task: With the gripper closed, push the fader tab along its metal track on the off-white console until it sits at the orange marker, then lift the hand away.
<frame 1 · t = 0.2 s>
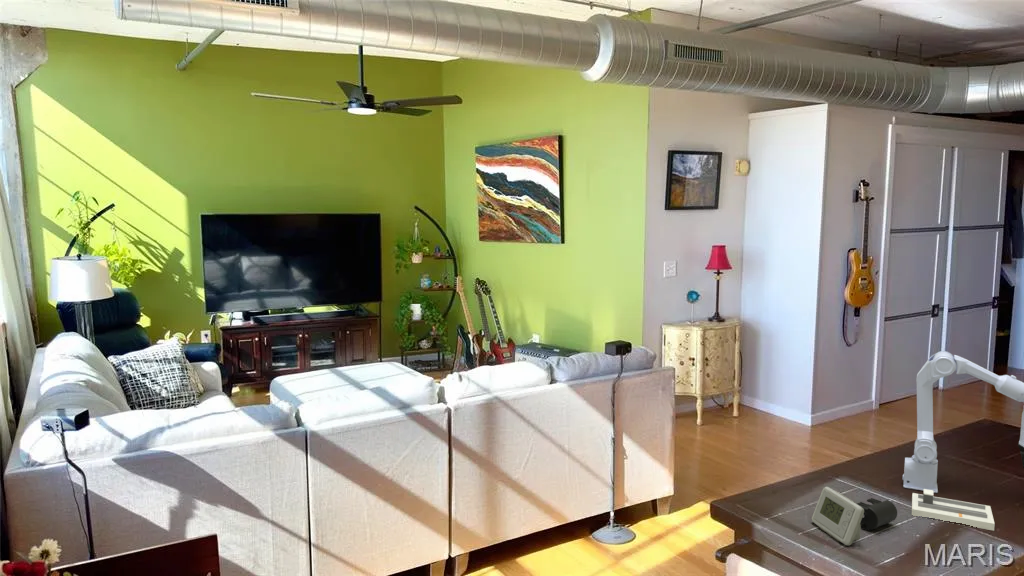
digital clock: (835, 534, 197), on the table
console: (950, 514, 211), on the table
fader tab: (928, 497, 213), point 4 cm above the table, slide at 0.0 cm
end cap: (874, 526, 202), on the table
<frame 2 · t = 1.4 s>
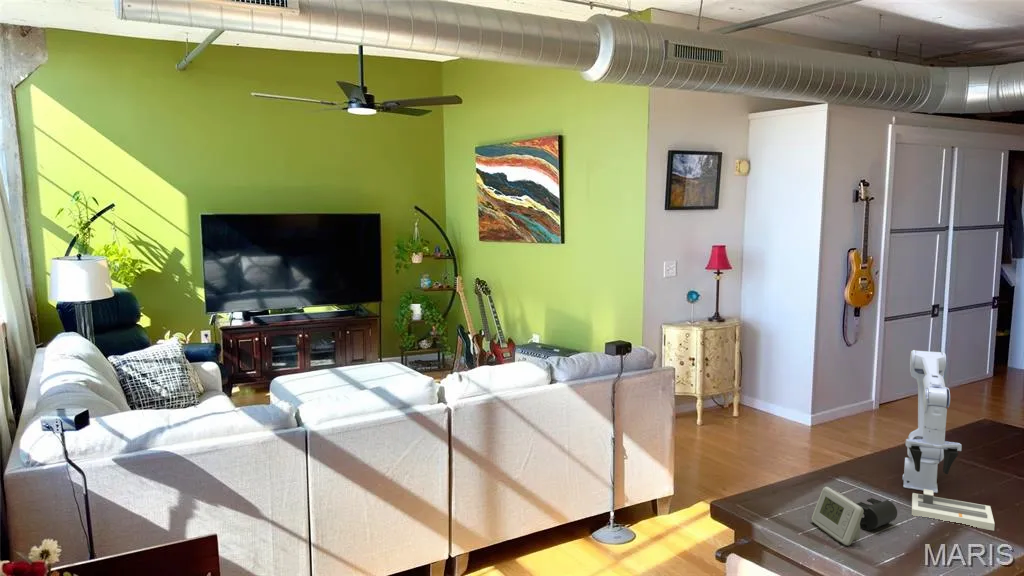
hand: (931, 471, 216), 10 cm above the table, tool pointing down, fingers open, 7 cm apart
nothing on the table moved.
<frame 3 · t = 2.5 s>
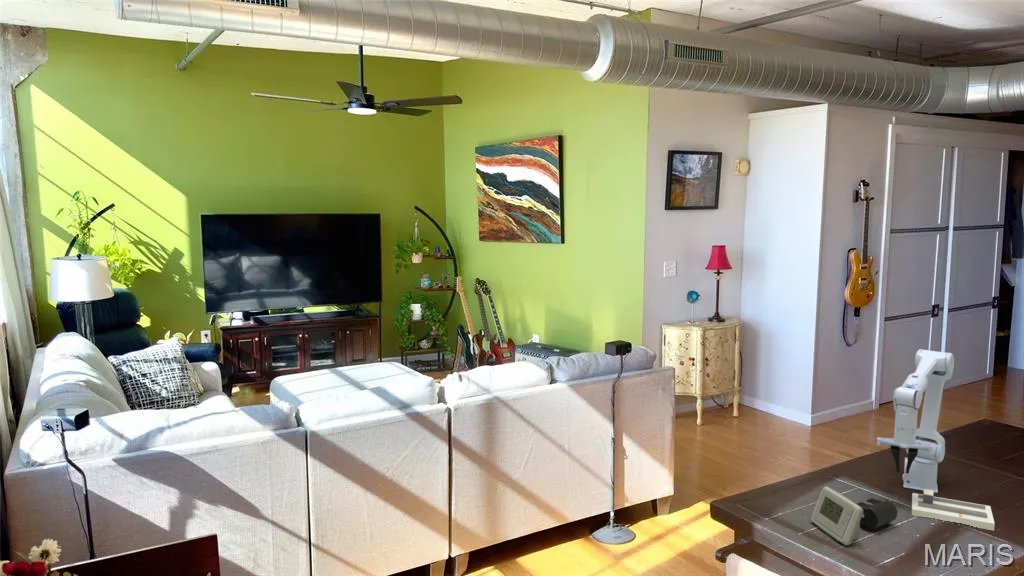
hand: (902, 471, 216), 10 cm above the table, tool pointing down, fingers closed
nothing on the table moved.
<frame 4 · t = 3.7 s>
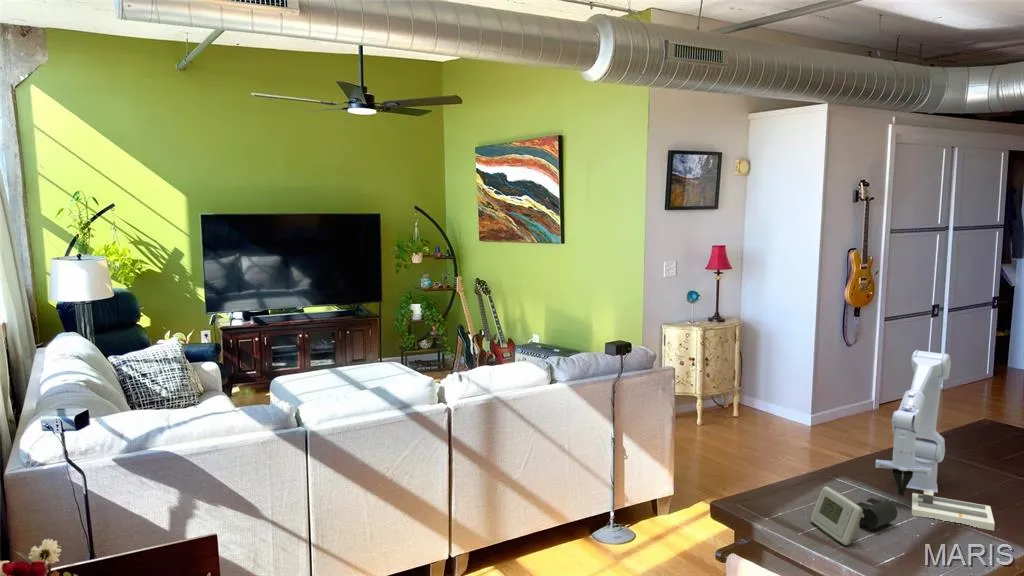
hand: (901, 494, 216), 3 cm above the table, tool pointing down, fingers closed
nothing on the table moved.
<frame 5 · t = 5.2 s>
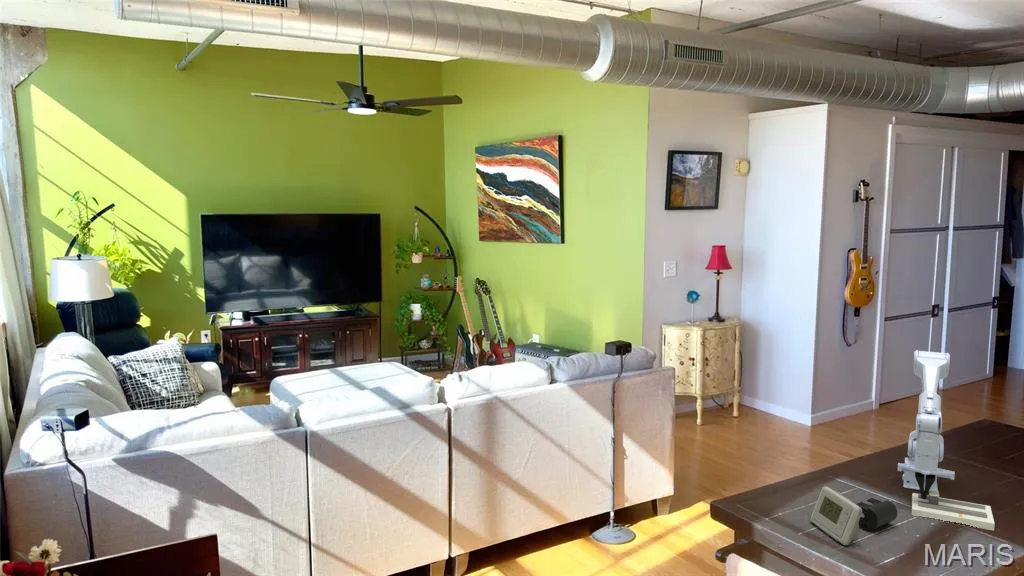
hand: (923, 498, 214), 3 cm above the table, tool pointing down, fingers closed
fader tab: (933, 498, 212), point 4 cm above the table, slide at 1.4 cm, touching gripper
everything else where it was.
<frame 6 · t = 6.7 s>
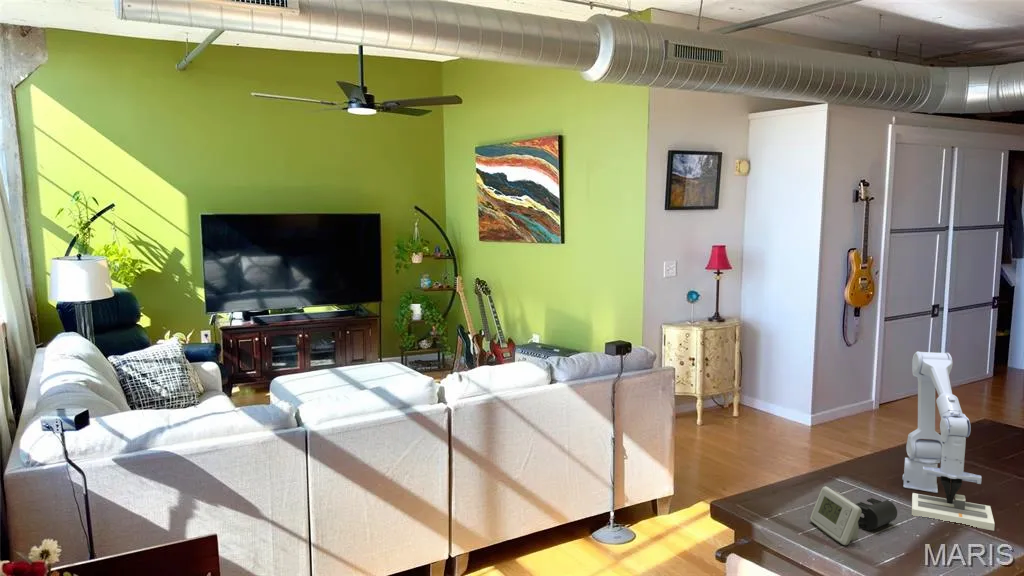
hand: (949, 502, 210), 3 cm above the table, tool pointing down, fingers closed
fader tab: (959, 502, 209), point 4 cm above the table, slide at 8.0 cm, touching gripper
everything else where it was.
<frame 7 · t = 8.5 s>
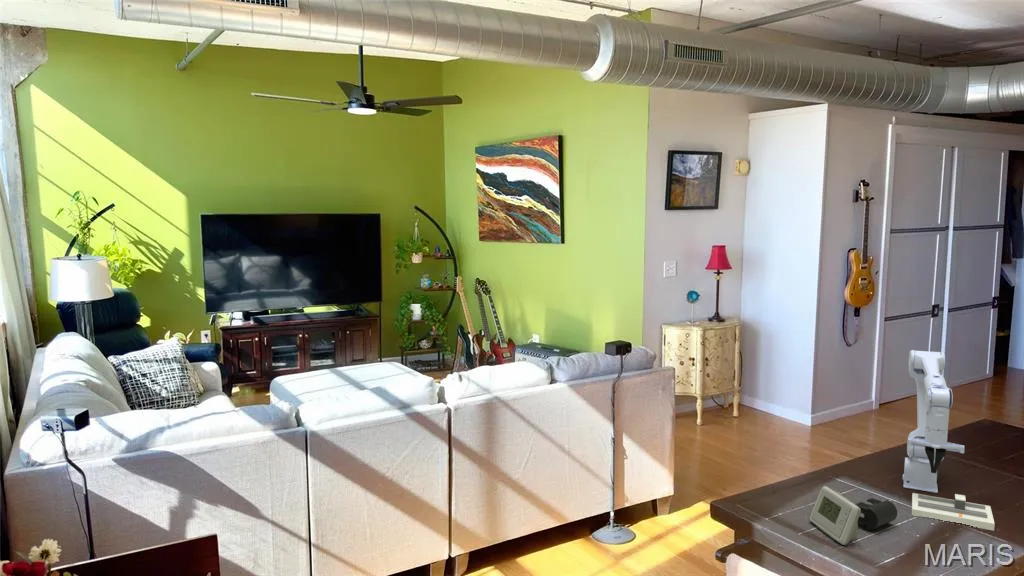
hand: (933, 472, 216), 10 cm above the table, tool pointing down, fingers closed
fader tab: (959, 502, 209), point 4 cm above the table, slide at 8.0 cm
everything else where it was.
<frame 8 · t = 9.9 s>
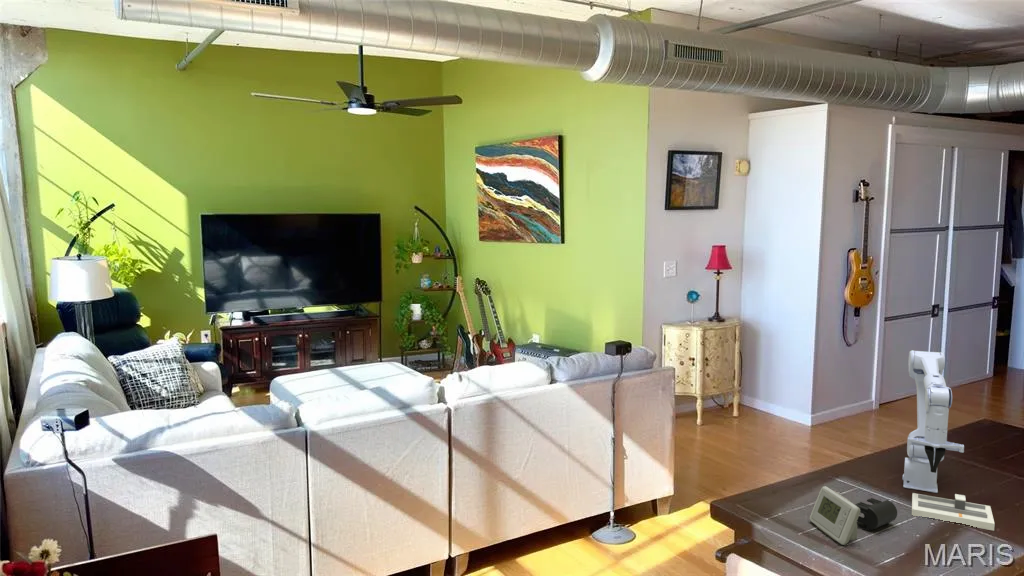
hand: (933, 471, 216), 10 cm above the table, tool pointing down, fingers closed
nothing on the table moved.
at the end: fader tab slide at 8.0 cm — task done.
